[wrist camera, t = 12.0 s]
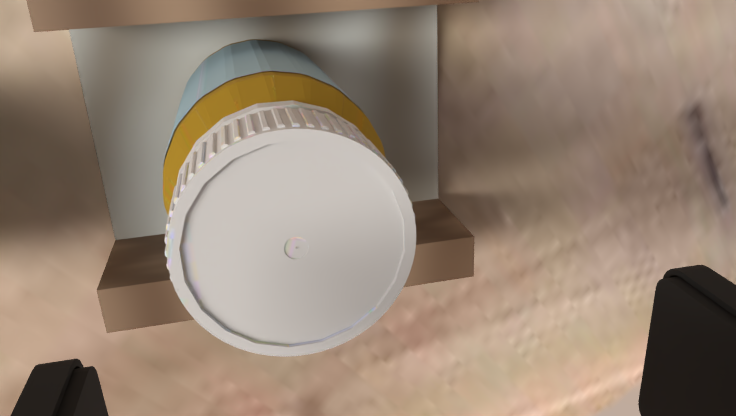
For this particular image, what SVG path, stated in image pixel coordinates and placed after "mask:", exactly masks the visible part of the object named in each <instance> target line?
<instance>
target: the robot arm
mask: <svg viewBox="0 0 736 416" xmlns="http://www.w3.org/2000/svg"><path fill="white" fill-rule="evenodd" d="M639 411H640V414H641V416H736V285H735V284H733V283H732V282H730V281H729V280H727V279H726V278H724V277H722V276H721V275H719V274H718V273H716V272H715V271H713V270H712V269H710V268H709V267H706V266H704V265H695V266H689V267H682V268H675V269H670V270H669V271H667V272H666V273H665V275H664V277H663V279H661V280H659V282H658V283H657V286H656V291H655V297H654V304H653V310H652V317H651V323H650V330H649V337H648V343H647V350H646V356H645V363H644V369H643V376H642V382H641V389H640V395H639ZM11 416H108V412H107V408H106V405H105V401H104V397H103V393H102V389H101V385H100V382H99V378H98V374H97V371H96V369H95V368H94V367H93V366H90V367H84V368H83V365H82V363H81V361H80V360H78V359H71V360H65V361H58V362H52V363H45V364H39V365H36V366H35V367H34V369H33V370H32V372H31V374H30V376H29V378H28V381H27V383H26V385H25V387H24V389H23V391H22V393H21V395H20V397H19V399H18V401H17V403H16V406H15V408H14V410H13V412H12V414H11Z"/></svg>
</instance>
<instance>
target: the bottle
mask: <svg viewBox="0 0 736 416" xmlns="http://www.w3.org/2000/svg"><path fill="white" fill-rule="evenodd" d="M408 194H409V193H408V190H407V189H406V188H405V187H404V185H403V181H402V179H401V178H400V176H399V175H398V174H397V173H396V170H395V169H394V167H393V166H392V165H391V164H390V163H389V162H388V160H387V159H386V157H385V152H384V148H383V145H382V142H381V140H380V138H379V136H378V135H377V133H376V131H375V129H374V128H373V126H372V124H371V122H370V121H369V119H368V118H367V117H366V115H365V114H364V112H363V111H362V110H361V109H360V107H359V106H358V105H357V104H356V103H355V102H354V101H353V100H352V99H351V98H350V97H349V96H348V95H347V94H346V93H345V92H344V91H343V90H342V89H341V88H340V87H339V86H338V85H337V84H336V83H335V82H334V81H333V80H332V79H331V78H330V77H329V76H328V75H327V74H326V73H325V72H324V71H323V70H322V69H321V68H320V67H319V66H318V65H316V64H315V63H314V62H313V61H312V60H311V59H310V58H308V57H307V56H306V55H305V54H303V53H302V52H300V51H299V50H297V49H294V48H292V47H290V46H288V45H285V44H283V43H281V42H277V41H270V40H260V39H250V40H245V41H240V42H236V43H232V44H229V45H226V46H224V47H222V48H221V49H219V50H218V51H216V52H214V53H213V54H211V55H210V56H208V57H207V58H206V59H205V60H203V62H202V63H201V64H200V65H199V67H198V68H197V69H196V70H195V71H194V73H193V74H192V75H191V77H190V78H189V80H188V82H187V84H186V87H185V90H184V93H183V95H182V98H181V101H180V105H179V108H178V112H177V115H176V119H175V122H174V126H173V129H172V133H171V136H170V140H169V144H168V147H167V151H166V154H165V159H164V165H163V200H164V206H165V209H166V211H167V214H168V219H167V224H166V234H165V243H166V247H165V256H166V257H167V264H166V265H167V269H168V270H169V273H170V279H171V281H172V283H173V286H174V288H175V291H176V293H177V295H178V297H179V298H180V300H181V302H182V304H183V305H184V307H185V308H186V309H187V311H188V312H189V313H190V315H191V316H192V317H193V318H194V319H195V320H196V321H197V322H198V323H199V324H200V325H201V326H202V327H203V328H204V329H206V330H207V331H208V332H209V333H211V334H212V335H214V336H215V337H217V338H218V339H220V340H222V341H224V342H226V343H228V344H230V345H232V346H234V347H237V348H239V349H242V350H245V351H248V352H252V353H257V354H262V355H269V356H300V355H307V354H312V353H317V352H321V351H324V350H327V349H330V348H333V347H336V346H338V345H340V344H343V343H345V342H347V341H349V340H351V339H352V338H354V337H356V336H357V335H359V334H361V333H362V332H364V331H365V330H366V329H368V328H369V327H370V326H372V325H373V324H374V323H375V322H376V321H377V320H378V319H379V318H381V316H382V315H383V314H384V313H385V312H386V311H387V310H388V309H389V308H390V306H391V305H392V304H393V303H394V301H395V300H396V298H397V297H398V295H399V294H400V292H401V290H402V289H403V287H404V285H405V283H406V280H407V278H408V276H409V273H410V270H411V267H412V264H413V260H414V255H415V248H416V224H415V214H414V212H413V209H412V206H413V204H412V201H411V200H410V199H409V197H408Z"/></svg>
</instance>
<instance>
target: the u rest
mask: <svg viewBox="0 0 736 416" xmlns="http://www.w3.org/2000/svg"><path fill="white" fill-rule="evenodd" d="M469 2H478V0H27V4H28V9H29V13H30V17H31V21H32V25H33V29H34V32H41V31H56V30H69V32H70V36H71V41H72V45H73V50H74V54H75V59H76V63H77V68H78V72H79V77H80V81H81V86H82V90H83V95H84V99H85V104H86V108H87V113H88V118H89V122H90V127H91V131H92V136H93V140H94V145H95V149H96V154H97V158H98V163H99V167H100V172H101V176H102V181H103V185H104V190H105V194H106V199H107V203H108V208H109V213H110V217H111V222H112V226H113V231H114V235H115V243H114V246H113V248H112V251H111V254H110V256H109V259H108V262H107V264H106V267H105V270H104V272H103V275H102V278H101V280H100V283H99V286H98V288H97V294H98V298H99V302H100V306H101V310H102V315H103V319H104V323H105V327H106V331H107V333H110V332H117V331H123V330H130V329H136V328H143V327H149V326H156V325H162V324H168V323H175V322H181V321H188V320H194V318H193V317H192V316H191V315H190V313H189V312H188V311H187V309H186V308H185V307H184V305H183V304H182V302H181V300H180V298H179V297H178V295H177V293H176V291H175V288H174V286H173V283H172V281H171V279H170V273H169V270H168V269H167V265H166V264H167V257H166V256H165V247H166V243H165V234H166V224H167V219H168V214H167V211H166V209H165V206H164V200H163V165H164V159H165V154H166V151H167V147H168V144H169V140H170V136H171V133H172V129H173V126H174V122H175V119H176V115H177V112H178V108H179V105H180V101H181V98H182V95H183V93H184V90H185V87H186V84H187V82H188V80H189V78H190V77H191V75H192V74H193V73H194V71H195V70H196V69H197V68H198V67H199V65H200V64H201V63H202V62H203V60H205V59H206V58H207V57H208V56H210V55H211V54H213V53H214V52H216V51H218V50H219V49H221V48H222V47H224V46H226V45H229V44H232V43H236V42H240V41H245V40H250V39H260V40H270V41H277V42H281V43H283V44H285V45H288V46H290V47H292V48H294V49H297V50H299V51H300V52H302V53H303V54H305V55H306V56H307V57H308V58H310V59H311V60H312V61H313V62H314V63H315V64H316V65H318V66H319V67H320V68H321V69H322V70H323V71H324V72H325V73H326V74H327V75H328V76H329V77H330V78H331V79H332V80H333V81H334V82H335V83H336V84H337V85H338V86H339V87H340V88H341V89H342V90H343V91H344V92H345V93H346V94H347V95H348V96H349V97H350V98H351V99H352V100H353V101H354V102H355V103H356V104H357V105H358V106H359V107H360V109H361V110H362V111H363V112H364V114H365V115H366V117H367V118H368V119H369V121H370V122H371V124H372V126H373V128H374V129H375V131H376V133H377V135H378V136H379V138H380V140H381V142H382V145H383V148H384V152H385V157H386V159H387V160H388V162H389V163H390V164H391V165H392V166H393V167H394V169H395V170H396V173H397V174H398V175H399V176H400V178H401V179H402V181H403V185H404V187H405V188H406V189H407V190H408V193H409V194H408V197H409V199H410V200H411V201H412V204H413V206H412V209H413V212H414V214H415V224H416V248H415V255H414V260H413V264H412V267H411V270H410V273H409V276H408V278H407V280H406V283H405V285H404V287H407V286H414V285H420V284H427V283H433V282H440V281H446V280H452V279H459V278H465V277H472V276H474V236H473V235H472V234H471V233H470V232H469V231H468V230H467V228H466V227H465V226H464V225H463V224H462V223H461V222H460V221H459V220H458V219H457V218H456V217H455V216H454V215H453V214H452V213H451V211H450V210H449V209H448V208H447V207H446V206H445V205H444V204H443V203H442V202H441V201H440V200H439V199H438V74H437V5H439V4H454V3H469Z"/></svg>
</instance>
